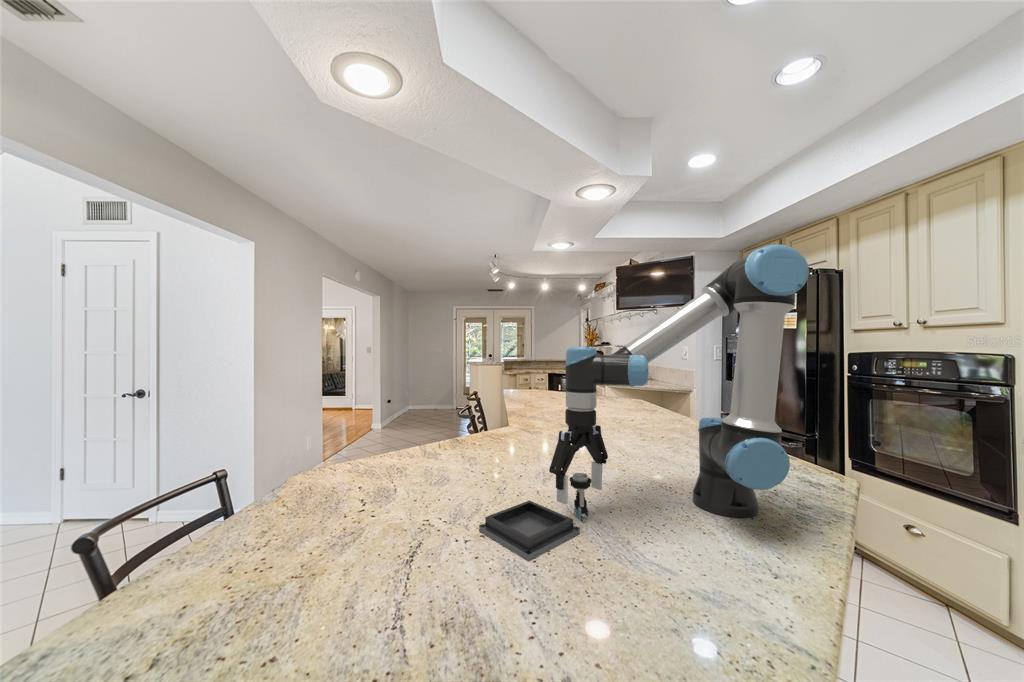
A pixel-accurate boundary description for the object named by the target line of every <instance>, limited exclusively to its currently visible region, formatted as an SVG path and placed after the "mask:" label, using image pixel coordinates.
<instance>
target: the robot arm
mask: <svg viewBox="0 0 1024 682" xmlns="http://www.w3.org/2000/svg"><path fill="white" fill-rule="evenodd" d="M809 269H810V267H809V264H808V262H807V260H806V258H805V257H804V255H803V254H801V253H800V252H799V251H798V250H797V249H796V248H793V247H792V246H789V245H785V244H770V245H769V244H768V245H766V246H764V247H760V248H757V249H754V250H753V251H752V252H750V253H749V254H747V256H744V257H742V258H740V259H739V260H736V261H735V262H733V263H731V265H729V266H728V267H727V268H726V269H725V270H724V271H722V272H721V273H720V274H719V275H717V277H715V278H714V279H712V281H710V282H709V283H708V284H706V285H704V287H702V288H701V292H700V294H699V295H696V297H694V298H693V299H691V300H690V301H688V302H687V303H685V304H684V305H682V306H681V307H679V308H678V309H676V310H675V311H674V312H672V313H671V314H669V315H668V316H666V317H664V318H663V319H662V320H660V321H659V322H657V323H656V324H655V325H653V326H651V327H650V328H649V329H647V330H646V331H644V332H643V333H641V334H640V335H638V336H637V337H635V338H634V339H632V340H631V341H630V342H628V343H627V344H625V345H624V346H623V347H621V348H619V349H618V350H617V351H615V352H613V353H611V354H598V352H597V351H598V350H597V348H596V347H594V346H570V347H568V348H567V349H566V354H565V407H566V409H565V419H564V420H565V424H566V425H567V427H568V429H567V431H563V430H560V431H559V432H558V440H557V444H556V447H555V450H554V453H553V456H552V460H551V464H550V465H549V470H548V471H549V473H551V474H554V475H555V488H556V502H559V503H560V504H563V505H568V503H569V475H567V473H568V469H569V468H570V465H571V463H572V461H573V459H574V457H575V454H576V453H577V452H578V451H579V450H580V449H581V448H582V449H583V448H586V449H587V451H588V454H589V455H590V456H591V458H592V459H593V461H592V462H591V469H590V470H591V474H590V475H591V476H590V477H591V478H590V479H591V483H590V488H592V489H595V490H598V491H602V490H603V464H604V465H606V463H607V460H608V459H609V456H608V452H607V448H606V445H605V441H604V438H603V436H602V426H601V425H598V424H597V411H596V408H597V386H617V387H618V386H620V387H621V386H624V387H643V386H645V385H646V384H648V380H649V364H650V363H651V362H652V361H654V360H655V359H656V358H658V357H660V356H661V355H662V354H664V353H666V352H667V351H670V350H671V348H673V347H675V346H676V345H678V344H680V343H681V342H682V341H684V340H685V339H687V338H688V337H690V336H691V335H693V334H695V333H696V332H697V331H699V330H700V329H702V328H703V327H705V326H706V325H708V324H710V323H711V322H713V321H714V320H715V319H716V318H719V317H720V316H721V317H727V316H728V315H730V314H732V313H733V312H735V311H737V312H738V313H739V323H738V333H737V334H738V335H737V341H736V342H737V343H736V353H735V363H734V374H733V382H732V394H731V401H730V402H731V403H730V413H729V414H728V415H727V416H725V417H703V418H701V419H700V420H699V423H698V429H697V431H698V445H699V446H698V450H699V452H698V453H699V457H698V458H699V459H698V460H699V472H698V476H697V478H696V480H695V481H696V482H695V485H694V487H693V490H692V501H693V503H694V504H695V505H696V506H697V507H699V508H701V509H702V510H704V511H707V512H709V513H713V514H715V515H721V516H725V517H729V518H730V517H731V518H751V517H755V516H757V515H758V514H759V513H760V511H759V509H760V508H759V501H758V500H759V499H758V497H757V495H756V492H755V490H756V491H763V490H764V491H765V490H770V489H772V488H775V487H777V485H780V484H781V483H782V482H784V481H785V479H786V478H787V476H788V475H789V471H790V467H791V463H790V459H789V458H790V457H789V455H788V454H787V452H786V450H785V449H784V447H783V446H782V445H781V443H782V435H783V431H782V428H781V427H780V426H779V425H778V424H777V423H776V420H775V418H776V408H777V407H776V406H777V397H778V387H779V377H780V370H781V369H780V367H781V358H782V349H783V348H782V347H783V338H784V330H785V329H784V328H785V318H786V315H787V314H788V313H789V312H790V311H792V310H793V309H795V303H796V293H797V292H798V291H800V290H801V289H802V288H803V287H804V286H805V284H807V281H808V278H809V273H810V270H809Z"/></svg>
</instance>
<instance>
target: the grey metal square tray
mask: <svg viewBox="0 0 1024 682" xmlns="http://www.w3.org/2000/svg"><path fill="white" fill-rule="evenodd" d="M484 519H485V520H484V521H485V522H484V523H481V524H479V525H478V526H479V527H478V530H479V532H480V533H481V534H483V535H485V536H487V537H488V538H490V539H491V540H493V541H495V542H496V543H498V544H500V545H501V546H504V547H505V548H507V549H508V550H509V551H511V552H512V553H515V554H516V555H517V556H519V557H521V558H523V559H524V560H526V561H527V562H530V561H531V560H533V559H535V558H537V557H539V556H541V555H543V554H545V553H547V552H548V551H550V550H553V549H554V548H556V547H558V546H560V545H561V544H564V543H565V542H567V541H569V540H571V539H573V538H575V537H577V536H578V535H580V531H581V530H580V529H581V528H580V527H578V526H575V525H574V518H572V517H569V516H567V515H564V514H562V513H559V512H557V511H555V510H553V509H550V508H548V507H545V506H543V505H541V504H539V503H536V502H533V501H532V500H527V501H524V502H522V503H519V504H516V505H514V506H511V507H509V508H506V509H503V510H500V511H498V512H495V513H492V514H489V515H487V516H485V518H484Z"/></svg>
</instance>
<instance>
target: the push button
mask: <svg viewBox="0 0 1024 682" xmlns="http://www.w3.org/2000/svg"><path fill="white" fill-rule="evenodd" d="M572 475H573V476H570V477H569V483H570V486H571V487H572V488H573V489H575V490H576V495H575V499H574V501H573V505H574V508H573V509H574V510H573V513H574V514H573V515H574V516H577V519H578V520H580V521H581V520H582V522H587V516H588V515H589V514H588V512H589V511H588V507H587V506H588V504H587V503H588V502H587V500H586V497H585V490H587V489H589V488H591V478H590V477H589V476H588V474H587V473H584V472H583V473H582V472H576V473H573V474H572Z"/></svg>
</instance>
